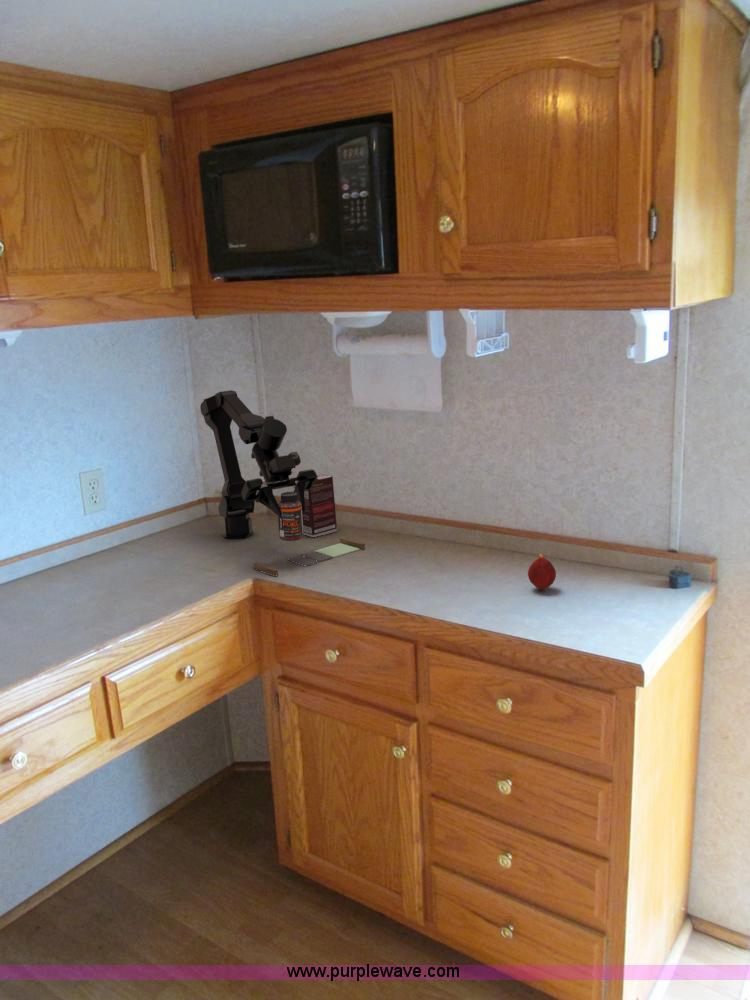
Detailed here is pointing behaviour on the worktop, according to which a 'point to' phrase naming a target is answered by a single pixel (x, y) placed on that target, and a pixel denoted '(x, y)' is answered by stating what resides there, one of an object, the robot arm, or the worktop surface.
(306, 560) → the pads
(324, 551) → the pad
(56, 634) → the worktop surface
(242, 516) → the robot arm
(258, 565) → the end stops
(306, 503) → the supplement box
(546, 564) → the onion
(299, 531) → the supplement bottle
